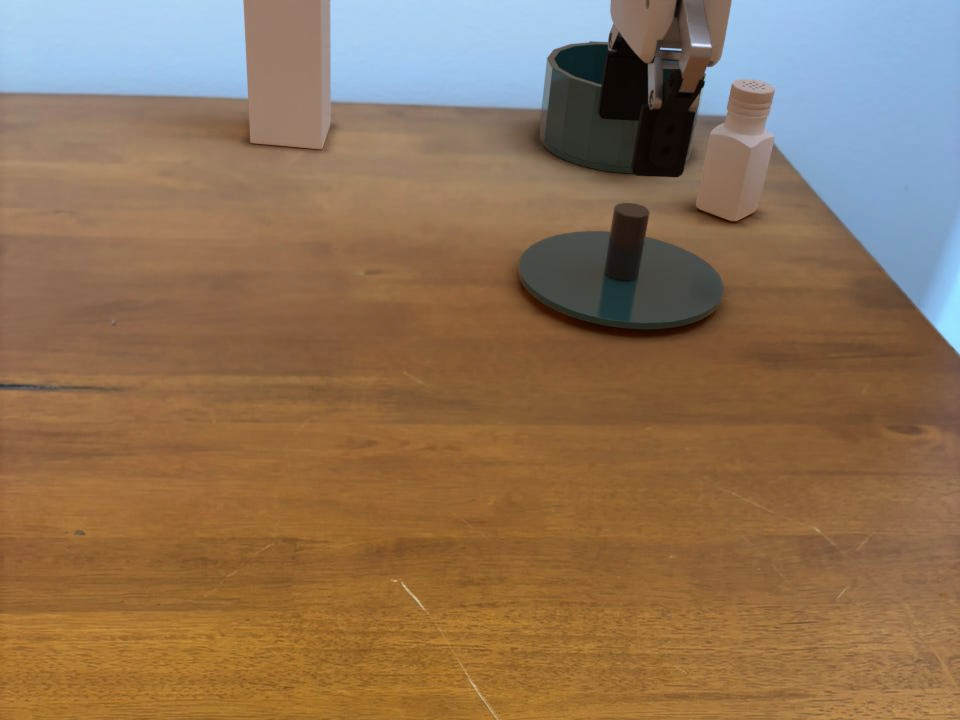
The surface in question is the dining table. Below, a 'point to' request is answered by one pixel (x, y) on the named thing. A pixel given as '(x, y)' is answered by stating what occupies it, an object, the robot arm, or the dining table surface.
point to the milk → (288, 71)
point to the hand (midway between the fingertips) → (637, 145)
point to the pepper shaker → (738, 153)
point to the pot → (586, 111)
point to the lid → (621, 276)
